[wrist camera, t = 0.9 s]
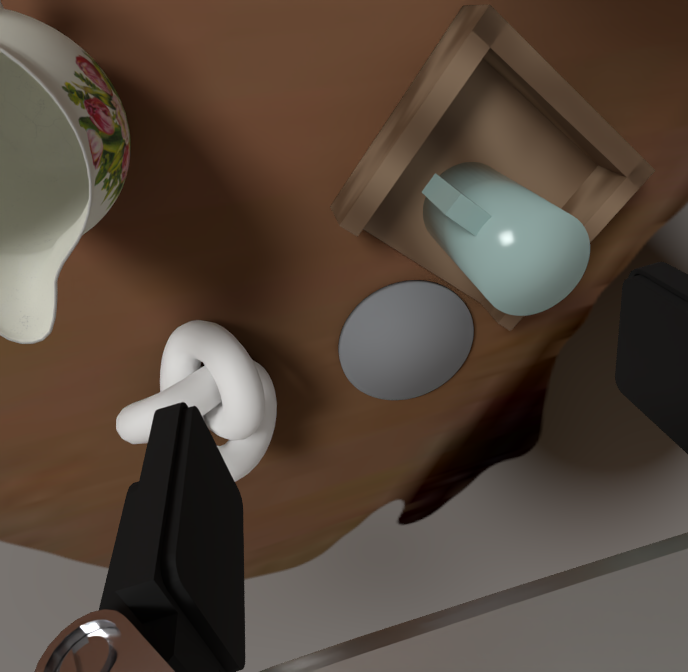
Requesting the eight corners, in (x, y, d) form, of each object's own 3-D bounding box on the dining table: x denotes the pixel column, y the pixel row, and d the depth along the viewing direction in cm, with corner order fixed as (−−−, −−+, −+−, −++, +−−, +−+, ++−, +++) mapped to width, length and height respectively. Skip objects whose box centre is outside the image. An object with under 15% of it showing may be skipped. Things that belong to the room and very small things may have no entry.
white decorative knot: (160, 439, 46) (145, 522, 38) (101, 330, 39) (69, 404, 32) (283, 407, 46) (292, 483, 39) (245, 293, 40) (247, 358, 32)
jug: (436, 123, 35) (508, 162, 26) (522, 192, 38) (611, 247, 29) (380, 203, 37) (428, 265, 28) (466, 261, 41) (533, 332, 32)
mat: (394, 254, 40) (396, 257, 40) (497, 318, 45) (500, 322, 45) (311, 365, 44) (312, 369, 44) (415, 412, 49) (416, 416, 49)
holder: (463, 5, 32) (489, 4, 28) (619, 157, 39) (655, 170, 36) (330, 206, 37) (339, 225, 34) (489, 307, 44) (510, 331, 41)
